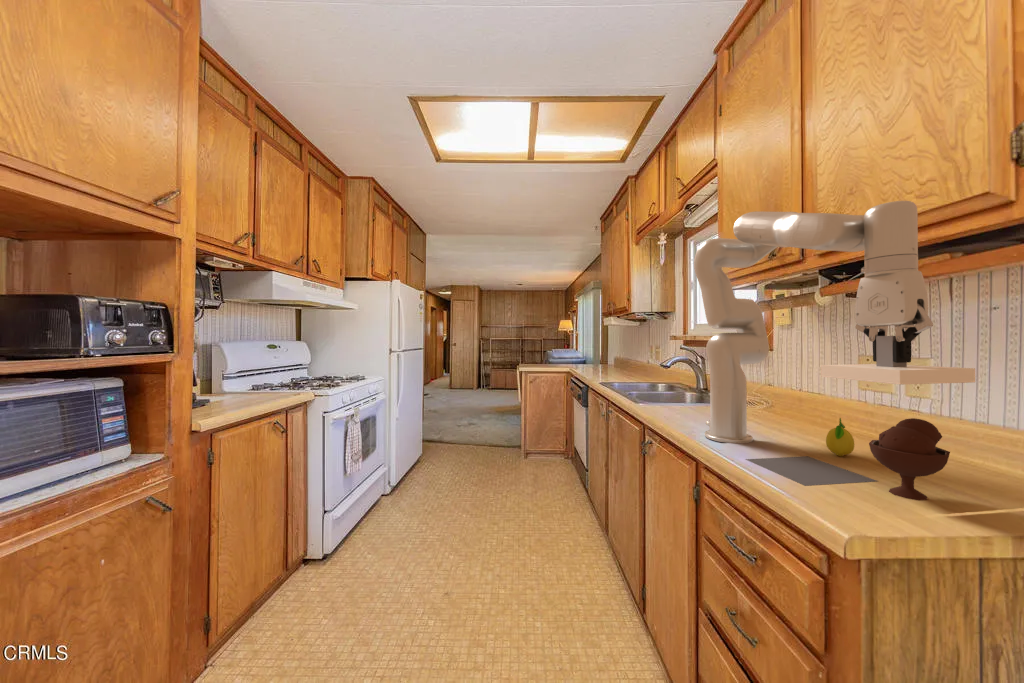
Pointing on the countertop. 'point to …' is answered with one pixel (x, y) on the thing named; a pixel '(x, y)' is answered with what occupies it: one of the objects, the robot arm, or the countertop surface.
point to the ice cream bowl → (910, 454)
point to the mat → (810, 471)
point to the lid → (897, 369)
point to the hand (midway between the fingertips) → (891, 361)
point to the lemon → (840, 440)
